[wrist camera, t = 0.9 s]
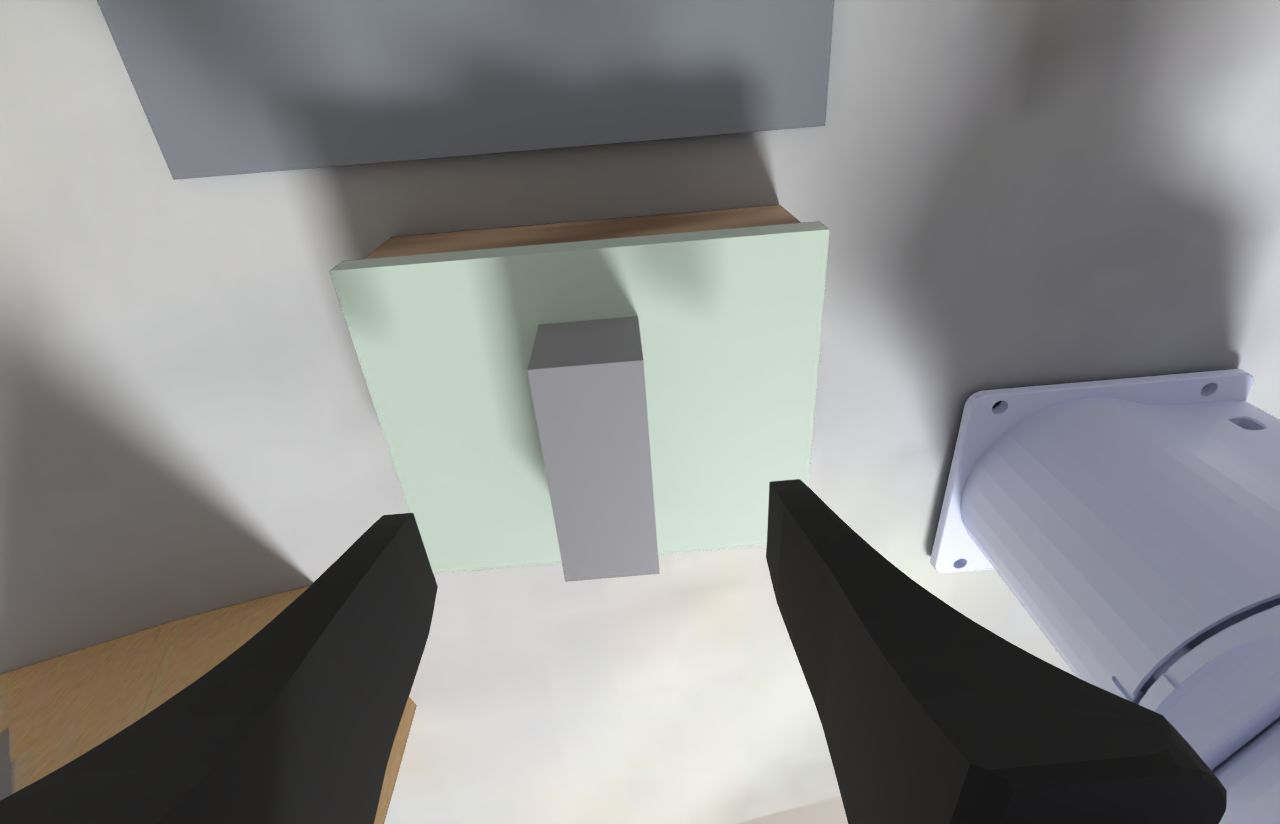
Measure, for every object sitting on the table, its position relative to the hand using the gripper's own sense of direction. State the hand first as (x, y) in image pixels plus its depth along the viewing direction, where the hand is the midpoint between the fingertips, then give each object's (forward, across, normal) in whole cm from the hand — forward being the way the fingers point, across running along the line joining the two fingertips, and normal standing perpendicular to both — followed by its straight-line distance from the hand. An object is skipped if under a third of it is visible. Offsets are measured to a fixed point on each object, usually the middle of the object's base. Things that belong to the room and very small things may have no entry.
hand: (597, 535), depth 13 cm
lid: (+6, 0, 0) cm, 6 cm away
